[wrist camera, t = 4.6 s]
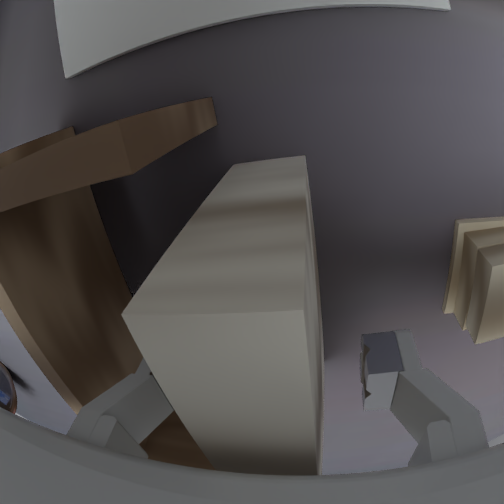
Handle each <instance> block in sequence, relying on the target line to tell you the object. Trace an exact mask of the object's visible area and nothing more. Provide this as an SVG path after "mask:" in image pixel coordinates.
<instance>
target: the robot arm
mask: <svg viewBox="0 0 504 504" xmlns="http://www.w3.org/2000/svg"><path fill="white" fill-rule="evenodd" d="M361 349H362V352H361V353H360V378H361V383H362V384H363V388H362V400H363V411H372V410H384V409H391V411H392V413H393V414H394V415H395V416H396V417H397V419H398V420H399V421H400V422H401V423H402V425H403V426H404V427H405V428H406V429H407V431H408V432H409V433H410V434H411V435H412V437H413V438H414V439H415V440H416V441H417V443H418V446H417V448H416V450H415V452H414V453H413V455H412V457H411V459H410V461H409V463H408V467H403V468H396V469H389V470H381V471H373V472H363V473H351V474H336V475H263V474H247V473H235V472H225V471H216V470H208V469H201V468H194V467H188V466H182V465H176V464H170V463H165V462H160V461H155V460H151V459H148V454H147V453H146V452H145V450H144V449H143V448H142V447H141V446H140V445H139V444H140V443H141V442H142V441H143V440H144V439H145V438H146V437H147V436H148V435H149V434H150V433H151V432H152V431H153V430H154V429H155V428H156V427H157V426H158V425H160V424H161V423H162V422H163V421H164V420H165V419H166V418H167V417H168V416H169V415H170V414H171V413H172V412H173V411H174V410H173V409H174V408H173V407H172V405H171V404H170V402H169V400H168V399H167V397H166V395H165V394H164V392H163V390H162V389H161V387H160V385H159V384H158V382H157V380H156V379H155V377H154V375H153V373H152V372H151V370H150V368H149V366H148V365H147V363H146V361H145V359H144V357H143V359H142V361H141V363H140V365H139V367H138V369H137V371H136V373H135V374H133V373H131V374H130V375H128V376H127V377H126V378H124V379H123V380H121V381H120V382H118V383H117V384H115V385H114V386H113V387H111V388H110V389H108V390H107V391H105V392H104V393H102V394H101V395H99V396H98V397H97V398H95V399H94V400H92V401H91V402H89V403H88V404H86V405H85V406H83V407H82V408H81V409H80V411H79V413H78V415H77V417H76V419H75V420H74V422H73V424H72V426H71V428H70V430H69V431H68V433H67V435H64V434H61V433H58V432H56V431H53V430H51V429H48V428H45V427H43V426H40V425H38V424H36V423H33V422H31V421H29V420H26V419H24V418H22V417H20V416H17V415H15V414H13V413H11V412H9V411H7V410H5V409H3V408H1V407H0V504H504V443H502V444H499V445H496V446H493V447H489V445H488V441H487V437H486V434H485V430H484V426H483V423H482V419H481V416H480V413H479V410H477V409H476V408H475V407H474V406H473V405H471V404H470V403H469V402H468V401H466V400H465V399H464V398H463V397H462V396H460V395H459V394H458V393H457V392H456V391H454V390H453V389H452V388H451V387H449V386H448V385H447V384H446V383H445V382H443V381H442V380H441V379H440V378H439V377H437V376H436V375H435V374H434V373H432V372H431V371H430V370H429V369H427V368H425V369H422V365H421V362H420V358H419V355H418V351H417V348H416V344H415V341H414V338H413V335H412V331H411V330H410V329H404V330H397V331H389V332H380V333H371V334H362V336H361Z"/></svg>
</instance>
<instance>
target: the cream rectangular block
mask: <svg viewBox="0 0 504 504" xmlns="http://www.w3.org/2000/svg"><path fill="white" fill-rule="evenodd" d="M121 315H122V317H123V319H124V321H125V323H126V325H127V327H128V329H129V331H130V333H131V335H132V337H133V339H134V341H135V342H136V344H137V346H138V348H139V350H140V352H141V354H142V355H143V357H144V359H145V361H146V363H147V365H148V366H149V368H150V370H151V372H152V373H153V375H154V377H155V379H156V380H157V382H158V384H159V385H160V387H161V389H162V390H163V392H164V394H165V395H166V397H167V399H168V400H169V402H170V404H171V405H172V407H173V408H174V410H175V412H176V413H177V415H178V416H179V418H180V419H181V421H182V422H183V424H184V426H185V427H186V429H187V430H188V432H189V433H190V435H191V436H192V437H193V439H194V440H195V442H196V443H197V445H198V446H199V448H200V449H201V450H202V452H203V453H204V455H205V456H206V457H207V459H208V460H209V462H210V463H211V464H212V466H213V467H214V468H215V470H216V471H225V472H235V473H247V474H263V475H322V458H323V430H324V348H323V330H322V314H321V299H320V286H319V274H318V262H317V252H316V241H315V231H314V222H313V213H312V204H311V195H310V187H309V179H308V172H307V164H306V157H305V155H303V156H294V157H285V158H277V159H269V160H261V161H254V162H247V163H240V164H233V166H232V167H231V168H230V169H229V170H228V172H227V173H226V174H225V175H224V177H223V178H222V179H221V180H220V182H219V183H218V184H217V185H216V187H215V188H214V189H213V190H212V192H211V193H210V194H209V195H208V197H207V198H206V199H205V200H204V202H203V203H202V204H201V206H200V207H199V208H198V209H197V211H196V212H195V213H194V215H193V216H192V217H191V219H190V220H189V221H188V222H187V224H186V225H185V226H184V228H183V229H182V230H181V232H180V233H179V234H178V236H177V237H176V238H175V240H174V241H173V242H172V244H171V245H170V246H169V248H168V249H167V250H166V252H165V253H164V254H163V256H162V257H161V259H160V260H159V261H158V263H157V264H156V265H155V267H154V268H153V270H152V271H151V272H150V274H149V275H148V277H147V278H146V279H145V281H144V282H143V284H142V285H141V287H140V288H139V289H138V291H137V292H136V294H135V295H134V297H133V298H132V299H131V301H130V302H129V304H128V305H127V307H126V308H125V310H124V311H123V313H122V314H121Z"/></svg>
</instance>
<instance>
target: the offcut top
mask: <svg viewBox="0 0 504 504" xmlns="http://www.w3.org/2000/svg"><path fill="white" fill-rule="evenodd" d="M466 327H467V329H468V331H469V333H470V335H471V337H472V339H473V341H474V343H475V345H476V344H480V343H484V342H487V341H491V340H494V339H498V338H501V337H504V244H501V245H496V246H491V247H485V248H480V249H478V252H477V260H476V268H475V275H474V282H473V288H472V294H471V300H470V305H469V310H468V315H467V320H466Z"/></svg>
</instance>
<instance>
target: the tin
mask: <svg viewBox="0 0 504 504" xmlns="http://www.w3.org/2000/svg"><path fill="white" fill-rule="evenodd" d="M0 407H1V408H3V409H5V410H7V411H9V412H11V413H13V414H15V412H16V409H17V395H16V390H15V387H14V383H13V380H12V377H11V375H10V373H9V371H8V370H7V368H6V367H5V366H4V364H2V363H1V362H0Z"/></svg>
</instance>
